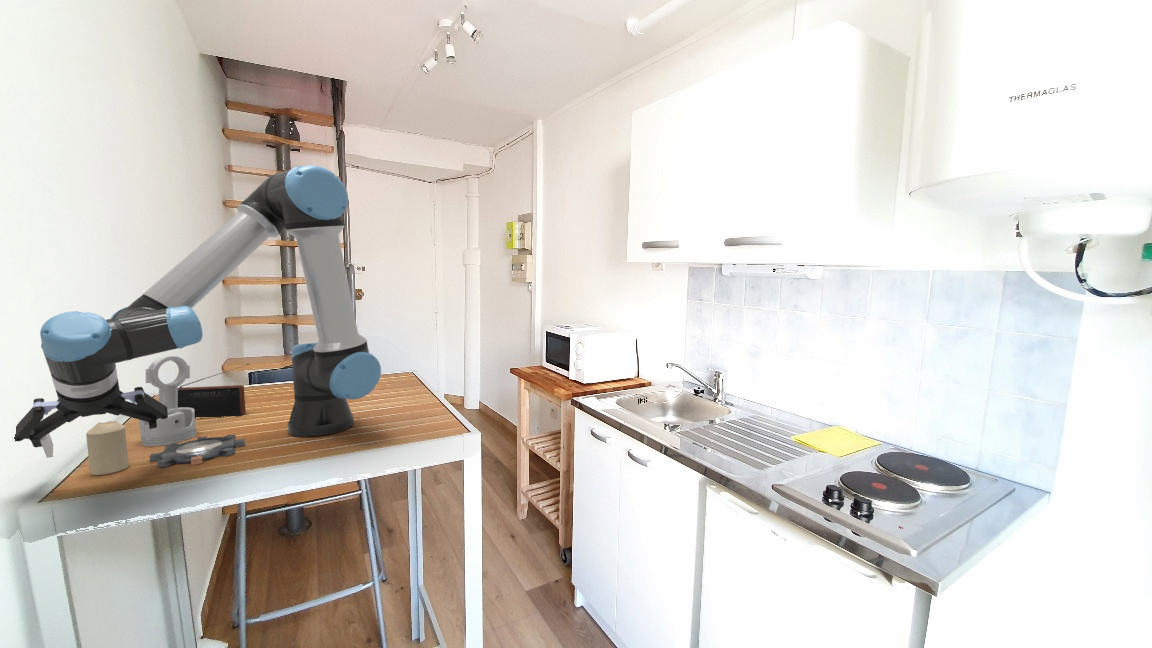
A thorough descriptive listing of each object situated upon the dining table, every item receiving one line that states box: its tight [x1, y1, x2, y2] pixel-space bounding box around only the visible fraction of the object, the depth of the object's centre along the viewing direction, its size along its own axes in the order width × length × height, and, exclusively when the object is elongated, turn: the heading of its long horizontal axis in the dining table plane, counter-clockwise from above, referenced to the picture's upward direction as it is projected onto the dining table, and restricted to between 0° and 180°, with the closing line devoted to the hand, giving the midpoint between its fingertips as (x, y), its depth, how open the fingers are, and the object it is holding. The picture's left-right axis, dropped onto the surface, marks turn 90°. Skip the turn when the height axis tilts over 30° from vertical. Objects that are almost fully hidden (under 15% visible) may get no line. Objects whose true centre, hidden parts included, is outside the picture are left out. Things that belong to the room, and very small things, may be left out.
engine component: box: [138, 355, 197, 447], centre depth 109 cm, size 11×20×10 cm
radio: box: [178, 363, 250, 418], centre depth 126 cm, size 19×3×15 cm, turn 103°
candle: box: [85, 420, 130, 476], centre depth 91 cm, size 6×6×10 cm
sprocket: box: [149, 434, 246, 468], centre depth 101 cm, size 16×16×1 cm
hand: (101, 442), depth 91 cm, fingers open, 13 cm apart
